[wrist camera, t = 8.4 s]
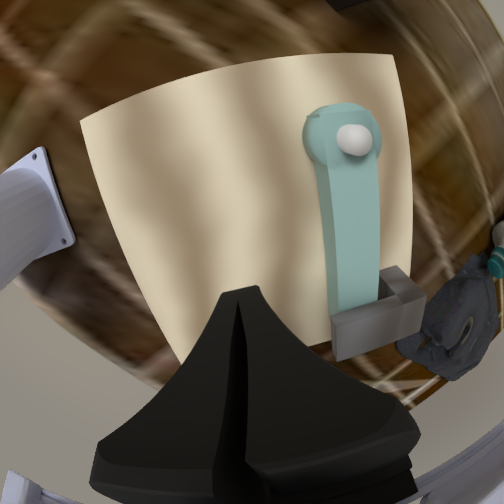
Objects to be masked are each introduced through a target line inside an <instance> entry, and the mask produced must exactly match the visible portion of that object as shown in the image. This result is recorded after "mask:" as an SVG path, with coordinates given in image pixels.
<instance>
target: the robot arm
mask: <svg viewBox="0 0 504 504" xmlns="http://www.w3.org/2000/svg"><path fill="white" fill-rule="evenodd" d="M35 154H36V155H37V158H35ZM64 239H65V240H66V242H67V243H66V242H65V241H64ZM74 243H75V236H74V233H73V231H72V228H71V226H70V223H69V221H68V218H67V216H66V213H65V210H64V208H63V205H62V202H61V199H60V196H59V193H58V190H57V187H56V184H55V181H54V178H53V175H52V171H51V168H50V165H49V161H48V157H47V154H46V150H45V148H44V147H38V148H36V149H35V150H33V151H32V152H30V153H29V154H28V155H26V156H25V157H23V158H22V159H21V160H19V161H18V162H16V163H15V164H14V165H12V166H11V167H10V168H9V169H7V170H6V171H5V172H3V173H2V174H0V292H1V291H2V290H3V289H4V288H5V287H6V286H7V285H8V284H9V283H10V282H11V281H12V280H13V279H14V278H15V277H16V276H17V275H18V274H19V273H20V272H21V271H22V270H23V269H24V268H26V267H27V266H28V265H29V264H30V263H31V262H32V261H33V260H35V259H38V258H40V257H43V256H45V255H48V254H50V253H53V252H56V251H58V250H61V249H63V248H66V247H69V246H71V245H73V244H74ZM420 436H421V433H420V431H419V428H418V426H417V423H416V422H415V420H414V419H413V417H412V416H411V415H410V413H409V412H408V410H407V409H406V408H405V407H404V405H403V404H402V403H401V402H400V401H399V400H398V398H396V397H393V396H391V395H388V394H386V393H383V392H381V391H379V390H377V389H375V388H372V387H370V386H368V385H366V384H364V383H362V382H360V381H359V380H357V379H355V378H353V377H351V376H349V375H348V374H346V373H344V372H343V371H341V370H340V369H338V368H337V367H335V366H334V365H332V364H331V363H329V362H327V361H326V360H324V359H323V358H322V357H320V356H319V355H318V354H317V353H315V352H314V351H313V350H311V349H310V348H309V347H308V346H307V345H305V344H304V343H303V342H302V341H301V340H300V339H299V338H298V337H297V336H296V335H294V334H293V333H292V332H291V330H290V329H289V328H288V327H287V326H286V325H285V324H284V323H283V322H282V321H281V320H280V318H279V317H278V316H277V315H276V314H275V312H274V311H273V310H272V308H271V307H270V306H269V304H268V303H267V301H266V300H265V298H264V296H263V294H262V292H261V290H260V287H259V286H257V285H253V286H248V287H244V288H240V289H236V290H231V291H227V292H223V293H222V294H221V295H220V297H219V299H218V301H217V304H216V306H215V308H214V310H213V312H212V314H211V316H210V318H209V320H208V322H207V324H206V326H205V328H204V330H203V332H202V333H201V335H200V337H199V339H198V340H197V342H196V343H195V345H194V347H193V348H192V350H191V352H190V353H189V355H188V356H187V358H186V359H185V361H184V362H183V363H182V365H181V366H180V368H179V369H178V370H177V372H176V373H175V374H174V375H173V377H172V378H171V379H170V380H169V381H168V382H167V383H166V385H165V386H164V387H163V388H162V389H161V390H160V391H159V392H158V393H157V395H156V396H155V397H154V398H153V399H152V400H151V401H150V402H149V403H148V404H146V405H145V406H144V407H143V408H142V409H141V410H140V411H139V412H138V413H136V415H134V416H133V417H132V418H131V419H129V420H128V421H127V422H126V423H124V424H123V425H122V426H121V427H119V428H118V429H116V430H115V431H114V432H112V433H111V434H109V435H108V436H107V437H105V438H104V439H102V440H101V441H99V442H98V444H97V448H96V452H95V457H94V461H93V466H92V470H91V475H90V481H89V484H90V486H91V487H92V488H93V489H94V490H95V491H97V492H99V493H101V494H102V495H104V496H107V497H109V498H111V499H113V500H116V501H118V502H120V503H123V504H408V503H410V502H412V501H414V500H416V499H418V498H420V497H422V496H423V498H422V499H421V501H420V504H504V420H503V421H502V422H500V423H499V424H498V425H497V426H496V427H494V428H493V429H492V430H491V431H489V432H488V433H487V434H486V435H484V436H483V437H482V438H481V439H479V440H478V441H476V442H475V443H473V444H472V445H471V446H469V447H468V448H466V449H465V450H464V451H462V452H461V453H459V454H457V455H456V456H454V457H453V458H451V459H450V460H448V461H447V462H445V463H443V464H442V465H440V466H438V467H436V468H434V469H433V470H431V471H429V472H427V473H425V474H424V475H422V476H420V477H418V478H416V479H414V478H413V476H412V473H411V471H410V469H411V468H412V463H411V460H410V458H409V456H408V454H409V453H410V452H411V450H412V449H413V448H414V447H415V445H416V444H417V442H418V440H419V438H420ZM424 495H425V496H424ZM0 504H82V503H79V502H76V501H73V500H70V499H68V498H65V497H63V496H60V495H57V494H55V493H53V492H50V491H48V490H46V489H44V488H42V487H40V486H39V485H37V484H36V483H34V482H33V481H31V480H29V479H27V478H26V477H24V476H22V475H20V474H18V473H16V472H15V471H13V470H11V469H9V470H8V474H7V477H6V481H5V485H4V489H3V494H2V499H1V503H0Z"/></svg>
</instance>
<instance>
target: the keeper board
mask: <svg viewBox="0 0 504 504" xmlns="http://www.w3.org/2000/svg"><path fill="white" fill-rule="evenodd" d="M338 103H354V104H357V105H360V106H362V107H363V108H365V109H366V110H370V111H371V114H372V115H373V117H374V118H375V119H376V121H377V123H378V125H379V127H380V131H381V135H382V147H381V151H380V154H379V157H378V159H377V169H378V183H379V202H380V266H379V285H378V299H377V301H375V302H372V303H369V304H366V305H363V306H360V307H357V308H354V309H350V310H347V311H344V312H340V313H337V314H334V315H330V319H329V307H328V288H327V273H326V260H325V248H324V237H323V227H322V218H321V209H320V201H319V193H318V185H317V178H316V171H315V164H314V161H313V160H312V159H311V158H310V157H309V155H308V154H307V152H306V150H305V148H304V145H303V140H302V131H303V126H304V123H305V121H306V119H307V117H306V116H308V115H310V114H311V113H312V112H313V111H315V110H316V109H318V108H320V107H323V106H327V105H332V104H338ZM80 124H81V128H82V132H83V136H84V140H85V143H86V147H87V151H88V154H89V158H90V161H91V164H92V168H93V171H94V174H95V177H96V180H97V183H98V186H99V189H100V192H101V195H102V198H103V201H104V204H105V207H106V209H107V212H108V215H109V217H110V220H111V223H112V225H113V228H114V230H115V233H116V235H117V238H118V240H119V243H120V245H121V247H122V250H123V252H124V254H125V257H126V259H127V261H128V264H129V266H130V268H131V270H132V272H133V275H134V277H135V279H136V281H137V283H138V285H139V287H140V289H141V291H142V293H143V295H144V297H145V299H146V301H147V303H148V305H149V307H150V309H151V311H152V313H153V315H154V317H155V319H156V321H157V323H158V324H159V326H160V328H161V330H162V332H163V333H164V335H165V337H166V339H167V341H168V342H169V344H170V346H171V348H172V349H173V351H174V353H175V354H176V356H177V358H178V359H179V361H180V363H181V364H182V363H183V362H184V361H185V359H186V358H187V356H188V355H189V353H190V352H191V350H192V348H193V347H194V345H195V343H196V342H197V340H198V339H199V337H200V335H201V333H202V332H203V330H204V328H205V326H206V324H207V322H208V320H209V318H210V316H211V314H212V312H213V310H214V308H215V306H216V304H217V301H218V299H219V297H220V295H221V294H222V293H223V292H227V291H231V290H236V289H240V288H244V287H248V286H253V285H257V286H259V287H260V290H261V292H262V294H263V296H264V298H265V300H266V301H267V303H268V304H269V306H270V307H271V308H272V310H273V311H274V312H275V314H276V315H277V316H278V317H279V318H280V320H281V321H282V322H283V323H284V324H285V325H286V326H287V327H288V328H289V329H290V330H291V332H292V333H293V334H294V335H296V336H297V337H298V338H299V339H300V340H301V341H302V342H303V343H304V344H305V345H307V346H312V345H315V344H319V343H322V342H326V341H329V340H332V351H333V354H334V356H335V358H336V361H337V362H338V361H342V360H345V359H348V358H351V357H354V356H357V355H360V354H363V353H366V352H368V351H371V350H374V349H377V348H379V347H382V346H385V345H387V344H390V343H392V342H395V341H397V340H400V339H402V338H405V337H407V336H410V335H412V334H414V333H417V332H419V331H420V327H421V323H422V318H423V314H424V309H425V303H426V298H427V295H426V294H425V293H424V292H423V291H422V290H421V289H420V288H419V287H418V286H417V285H416V284H415V283H414V282H413V281H412V280H411V279H410V278H409V275H410V264H411V249H412V220H413V203H412V175H411V160H410V149H409V139H408V131H407V124H406V117H405V110H404V104H403V99H402V94H401V89H400V84H399V79H398V75H397V70H396V66H395V62H394V58H393V55H386V54H367V53H330V54H311V55H298V56H288V57H280V58H272V59H265V60H259V61H253V62H247V63H242V64H237V65H232V66H228V67H223V68H219V69H215V70H211V71H207V72H203V73H199V74H195V75H192V76H189V77H185V78H182V79H179V80H175V81H172V82H169V83H166V84H163V85H160V86H158V87H155V88H152V89H149V90H147V91H144V92H141V93H139V94H136V95H134V96H131V97H129V98H127V99H124V100H122V101H120V102H117V103H115V104H113V105H111V106H109V107H106V108H104V109H102V110H100V111H98V112H96V113H94V114H92V115H90V116H88V117H86V118H84V119H82V120H81V121H80ZM330 320H331V321H330Z"/></svg>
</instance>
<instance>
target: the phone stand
mask: <svg viewBox="0 0 504 504" xmlns="http://www.w3.org/2000/svg"><path fill="white" fill-rule="evenodd" d="M326 1H327V2H328V3H329V4H330V6H331V7H332V8H333V9H334V10H336V11H338V10H341V9H343V8H346V7H349V6H352V5H355V4H358V3H361V2H364V1H368V0H326Z"/></svg>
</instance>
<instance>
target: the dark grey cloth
mask: <svg viewBox="0 0 504 504" xmlns="http://www.w3.org/2000/svg"><path fill="white" fill-rule="evenodd" d="M487 262H488V257H487V256H486V254H485V252H484V251H483V252H481V253H480V255H479V256H476V255H475V254H474V253H473V254H472V255H471V257H470V258H469V260H468V261H467V262H466V264H465V265H464V266H463V267H462V268H461V270H460V271H459V272H458V273H457V275H456V276H455V277H454V278H452V279H451V280H449V281H448V282H447V283H445V285H444V286H443V287H442V288H441V289H440V290H439V291H438V292H437V293H436V294H435V296H434V297H433V298H432V299H431V300H430V301H429V302H428V303H427V304H426V305H425V309H424V314H423V318H422V323H421V327H420V331H419V332H417V333H414V334H412V335H410V336H407V337H405V338H402V339H400V340H398V341H397V343H396V344H397V346H396V348H397V350H398V352H400V353H402V356H404V357H405V358H408V359H410V360H412V361H413V362H416V363H419V364H421V365H424V366H425V367H427V369H428V370H430V371H431V372H433V373H436V374H438V375H439V376H442V377H445V378H446V379H447V380H449V381H456V380H457V379H459V378H460V377H461V376H463V375H464V374H466V373H467V372H468V371H469V370H472V369H473V368H474V367H476V366H477V365H478V364H479V362H480V361H481V359H482V358H483V356H484V354H485V352H486V350H487V349H488V346H489V344H490V342H491V340H492V339H493V337H494V335H495V333H496V330H497V328H498V326H499V317H498V312H497V302H496V289H495V287H494V282H493V278H492V274H491V273H490V271H489V269H488V266H487ZM427 337H431V338H430V339H429V341H428V342H427V343H426V344H425V345H424V346H423V347H422V348H418V347H419V345H420V344H421V343H422V342H423V341H424V340H425V339H427Z"/></svg>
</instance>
